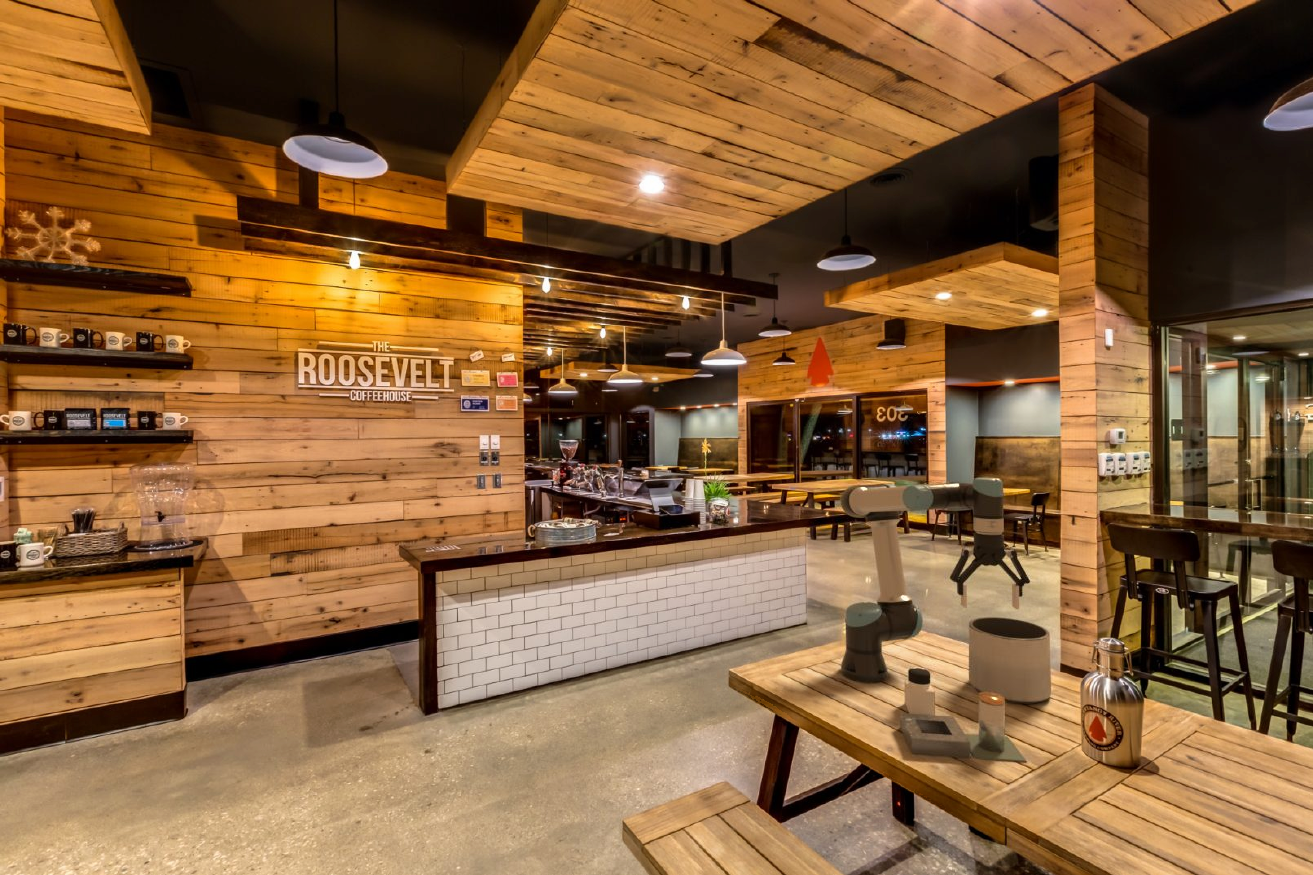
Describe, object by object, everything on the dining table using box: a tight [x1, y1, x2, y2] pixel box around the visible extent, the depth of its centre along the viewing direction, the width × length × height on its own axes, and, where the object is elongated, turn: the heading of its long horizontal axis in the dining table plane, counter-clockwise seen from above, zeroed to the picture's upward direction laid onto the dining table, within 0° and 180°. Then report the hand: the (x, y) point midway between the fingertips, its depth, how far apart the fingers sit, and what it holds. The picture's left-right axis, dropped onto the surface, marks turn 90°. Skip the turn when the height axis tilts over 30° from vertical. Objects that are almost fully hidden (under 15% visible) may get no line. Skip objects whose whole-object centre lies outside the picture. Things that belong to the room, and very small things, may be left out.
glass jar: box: [978, 692, 1006, 752], centre depth 157 cm, size 6×6×13 cm
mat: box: [964, 733, 1028, 763], centre depth 157 cm, size 12×12×1 cm
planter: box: [968, 616, 1052, 705], centre depth 191 cm, size 23×23×20 cm
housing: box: [899, 712, 972, 759], centre depth 160 cm, size 14×14×4 cm
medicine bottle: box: [903, 666, 936, 715], centre depth 179 cm, size 7×7×12 cm
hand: (989, 607), depth 170 cm, fingers open, 13 cm apart
